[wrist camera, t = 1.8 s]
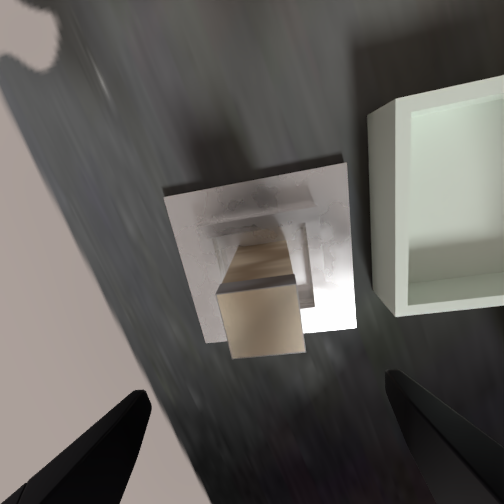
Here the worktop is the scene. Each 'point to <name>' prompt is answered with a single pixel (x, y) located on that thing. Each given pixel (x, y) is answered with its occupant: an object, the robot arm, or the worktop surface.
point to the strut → (261, 303)
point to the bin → (438, 199)
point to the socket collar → (271, 230)
